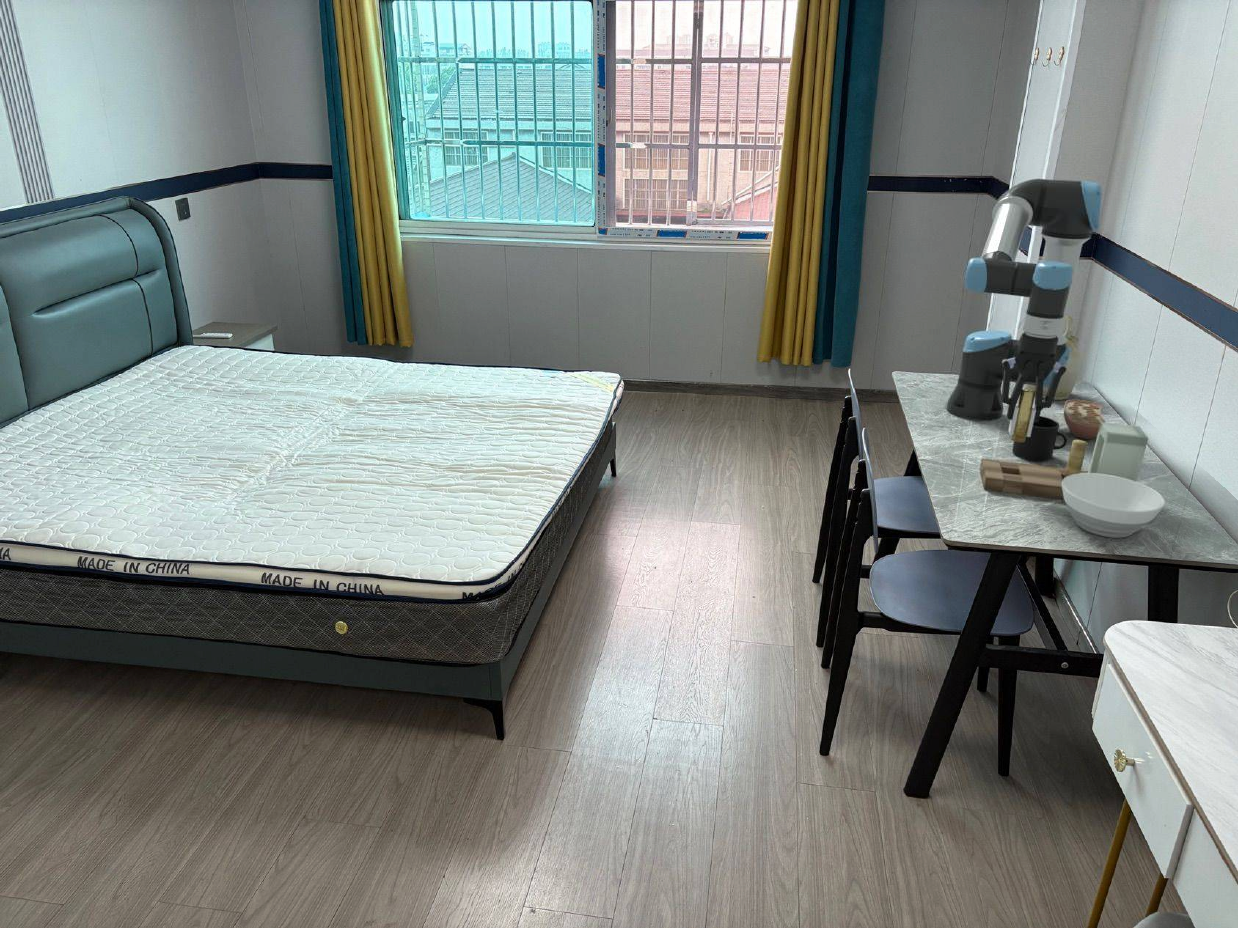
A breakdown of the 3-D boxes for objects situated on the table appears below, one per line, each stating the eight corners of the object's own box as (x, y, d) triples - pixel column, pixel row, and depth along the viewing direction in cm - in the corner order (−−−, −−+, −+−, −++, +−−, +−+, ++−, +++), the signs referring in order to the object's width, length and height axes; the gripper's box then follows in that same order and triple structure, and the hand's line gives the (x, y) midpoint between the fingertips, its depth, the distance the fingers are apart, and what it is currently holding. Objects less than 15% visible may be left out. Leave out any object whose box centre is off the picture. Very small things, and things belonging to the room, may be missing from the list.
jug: (1058, 386, 283) (1076, 308, 273) (1084, 402, 269) (1104, 320, 259) (1011, 385, 282) (1027, 307, 272) (1034, 402, 268) (1052, 319, 258)
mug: (1063, 466, 222) (1071, 432, 218) (1011, 457, 226) (1018, 424, 223) (1062, 453, 230) (1070, 420, 226) (1012, 445, 234) (1019, 412, 231)
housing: (1088, 473, 210) (1100, 422, 205) (1125, 477, 208) (1139, 426, 203) (1094, 486, 202) (1108, 434, 197) (1133, 491, 201) (1148, 438, 196)
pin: (1010, 437, 209) (1020, 387, 204) (1024, 438, 208) (1034, 389, 203) (1011, 441, 206) (1022, 391, 201) (1025, 443, 205) (1036, 393, 201)
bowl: (1082, 548, 182) (1092, 511, 179) (1036, 506, 200) (1044, 472, 197) (1175, 548, 183) (1186, 511, 180) (1121, 506, 201) (1130, 472, 198)
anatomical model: (1103, 446, 236) (1108, 428, 234) (1062, 440, 239) (1066, 422, 237) (1096, 419, 256) (1100, 402, 254) (1058, 413, 259) (1062, 397, 257)
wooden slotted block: (979, 469, 218) (988, 423, 214) (1114, 486, 211) (1127, 439, 206) (983, 489, 208) (993, 441, 203) (1126, 507, 200) (1139, 458, 196)
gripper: (1003, 334, 196) (983, 435, 205) (1083, 341, 192) (1059, 443, 201) (1000, 326, 203) (980, 424, 212) (1076, 333, 199) (1054, 432, 208)
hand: (1019, 433), depth 206 cm, fingers closed on pin, 3 cm apart
